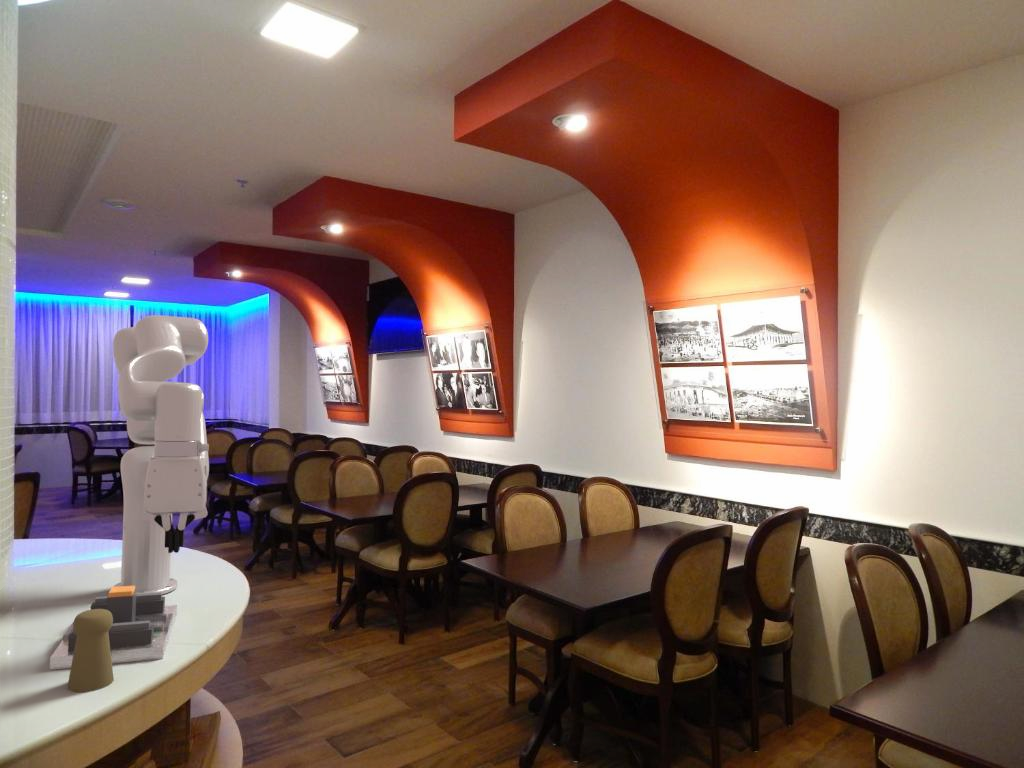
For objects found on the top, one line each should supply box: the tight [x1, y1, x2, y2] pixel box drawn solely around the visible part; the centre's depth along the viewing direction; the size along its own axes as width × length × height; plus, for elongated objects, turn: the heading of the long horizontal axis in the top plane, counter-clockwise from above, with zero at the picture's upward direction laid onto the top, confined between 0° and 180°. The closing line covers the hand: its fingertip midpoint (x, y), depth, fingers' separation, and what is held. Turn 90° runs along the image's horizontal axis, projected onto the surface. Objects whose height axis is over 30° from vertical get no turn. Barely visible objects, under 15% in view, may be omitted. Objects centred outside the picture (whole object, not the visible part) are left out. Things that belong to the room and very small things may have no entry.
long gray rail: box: [68, 593, 166, 652], centre depth 119 cm, size 18×12×3 cm, turn 21°
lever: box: [106, 586, 136, 623], centre depth 119 cm, size 4×4×7 cm
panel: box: [49, 604, 178, 671], centre depth 119 cm, size 22×16×3 cm
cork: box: [67, 609, 115, 693], centre depth 102 cm, size 6×6×11 cm
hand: (174, 551), depth 122 cm, fingers closed
